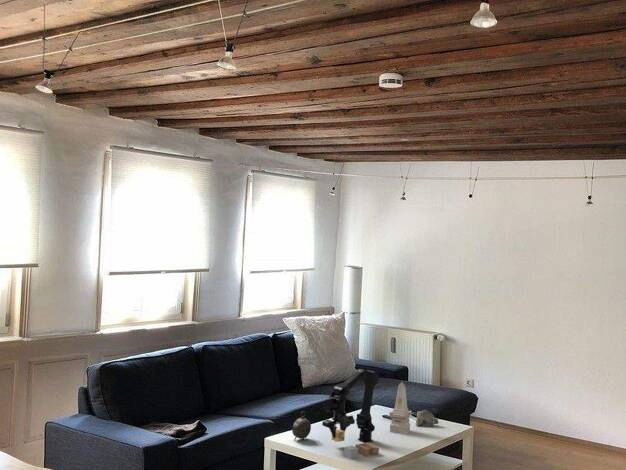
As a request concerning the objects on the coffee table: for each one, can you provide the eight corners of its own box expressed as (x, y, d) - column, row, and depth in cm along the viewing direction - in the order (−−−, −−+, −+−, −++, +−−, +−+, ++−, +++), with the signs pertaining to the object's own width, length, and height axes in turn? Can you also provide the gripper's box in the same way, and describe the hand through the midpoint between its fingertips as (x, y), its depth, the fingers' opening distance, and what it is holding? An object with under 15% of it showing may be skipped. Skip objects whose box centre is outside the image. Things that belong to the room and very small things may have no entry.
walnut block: (368, 449, 369) (368, 442, 369) (378, 454, 361) (378, 447, 361) (355, 452, 364) (355, 444, 364) (365, 457, 356) (365, 449, 356)
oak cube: (338, 438, 373) (339, 429, 373) (344, 440, 369) (344, 431, 369) (331, 439, 370) (331, 430, 370) (337, 441, 366) (337, 432, 366)
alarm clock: (305, 437, 385) (307, 408, 385) (312, 439, 381) (313, 411, 381) (291, 440, 378) (292, 411, 378) (297, 442, 374) (298, 413, 374)
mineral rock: (439, 426, 422) (439, 410, 422) (433, 429, 413) (433, 413, 413) (419, 422, 429) (420, 406, 429) (413, 426, 420) (414, 409, 420)
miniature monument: (388, 432, 404) (391, 382, 404) (394, 427, 413) (396, 379, 413) (405, 434, 399) (407, 384, 399) (410, 430, 409) (412, 381, 409)
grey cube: (351, 454, 358) (351, 445, 358) (357, 457, 354) (358, 448, 354) (344, 456, 355) (344, 446, 355) (350, 459, 351) (350, 449, 351)
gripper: (335, 414, 358) (333, 444, 358) (361, 410, 369) (360, 439, 369) (322, 409, 367) (321, 438, 366) (348, 406, 378) (347, 433, 378)
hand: (338, 437), depth 370 cm, fingers closed on oak cube, 5 cm apart
